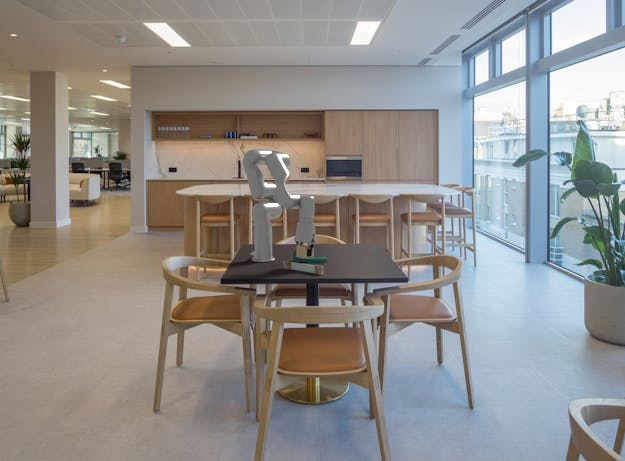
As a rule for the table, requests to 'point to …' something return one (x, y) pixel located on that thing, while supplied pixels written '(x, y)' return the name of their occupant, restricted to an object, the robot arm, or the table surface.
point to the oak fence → (318, 269)
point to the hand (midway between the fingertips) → (304, 255)
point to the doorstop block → (303, 251)
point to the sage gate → (303, 267)
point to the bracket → (310, 259)
